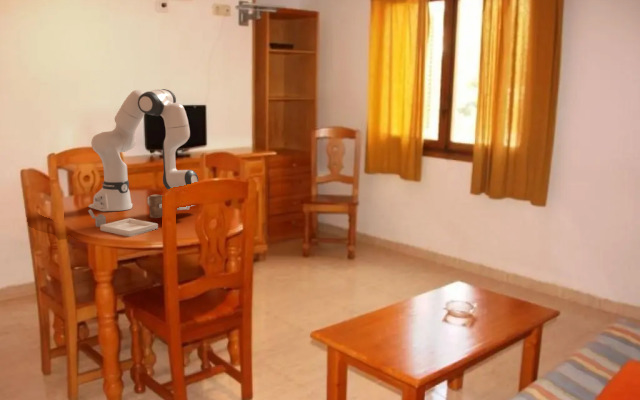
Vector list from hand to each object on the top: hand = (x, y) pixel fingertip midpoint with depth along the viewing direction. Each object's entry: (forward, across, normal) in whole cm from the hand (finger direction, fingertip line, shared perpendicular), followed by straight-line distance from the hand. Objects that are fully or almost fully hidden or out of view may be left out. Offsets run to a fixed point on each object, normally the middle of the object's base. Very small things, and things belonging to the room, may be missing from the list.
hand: (154, 205), depth 272 cm
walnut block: (-1, 0, +6) cm, 6 cm away
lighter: (+19, -16, +9) cm, 26 cm away
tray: (+15, 0, +8) cm, 17 cm away
